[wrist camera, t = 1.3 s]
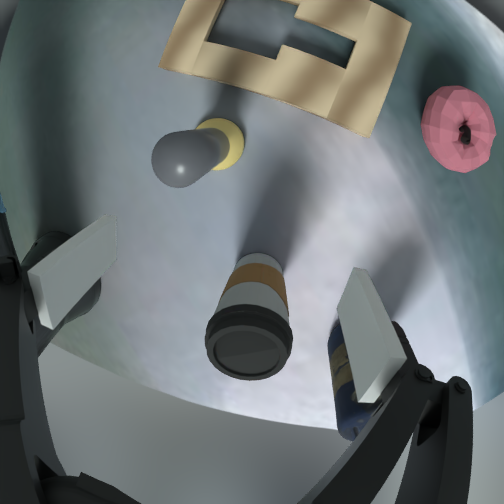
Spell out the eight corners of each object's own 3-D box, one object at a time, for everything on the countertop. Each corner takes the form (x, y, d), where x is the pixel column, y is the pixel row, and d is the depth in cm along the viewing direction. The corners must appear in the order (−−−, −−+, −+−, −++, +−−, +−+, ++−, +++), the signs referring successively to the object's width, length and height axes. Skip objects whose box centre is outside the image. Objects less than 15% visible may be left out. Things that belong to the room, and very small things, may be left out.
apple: (448, 172, 29) (493, 193, 21) (394, 145, 29) (434, 157, 20) (466, 108, 25) (515, 112, 16) (414, 76, 25) (458, 66, 16)
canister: (387, 308, 39) (427, 405, 23) (380, 352, 43) (406, 443, 27) (325, 315, 40) (342, 422, 24) (325, 359, 44) (335, 456, 28)
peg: (187, 159, 32) (131, 187, 20) (202, 112, 30) (151, 109, 17) (234, 175, 33) (205, 212, 20) (251, 127, 30) (231, 131, 18)
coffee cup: (217, 253, 37) (184, 329, 24) (279, 236, 36) (278, 310, 22) (240, 304, 41) (222, 388, 27) (297, 290, 39) (302, 376, 25)
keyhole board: (166, 69, 28) (158, 66, 25) (213, -35, 21) (209, -44, 18) (362, 136, 29) (369, 138, 27) (403, 28, 22) (411, 23, 20)
